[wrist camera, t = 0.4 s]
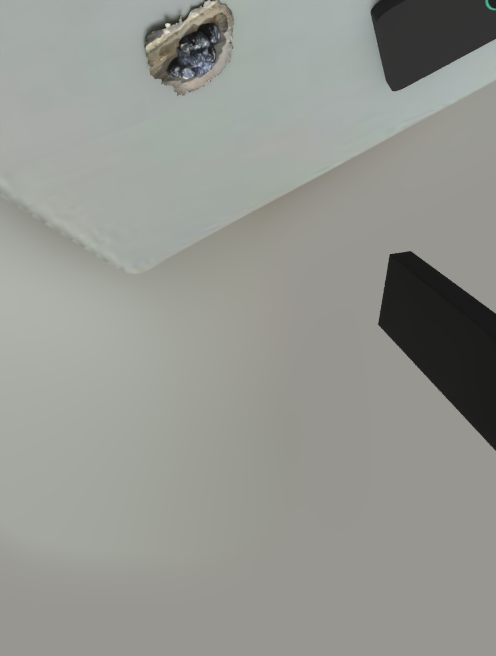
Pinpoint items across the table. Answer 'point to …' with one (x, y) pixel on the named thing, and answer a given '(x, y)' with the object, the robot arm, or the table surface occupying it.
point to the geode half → (192, 48)
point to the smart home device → (429, 35)
